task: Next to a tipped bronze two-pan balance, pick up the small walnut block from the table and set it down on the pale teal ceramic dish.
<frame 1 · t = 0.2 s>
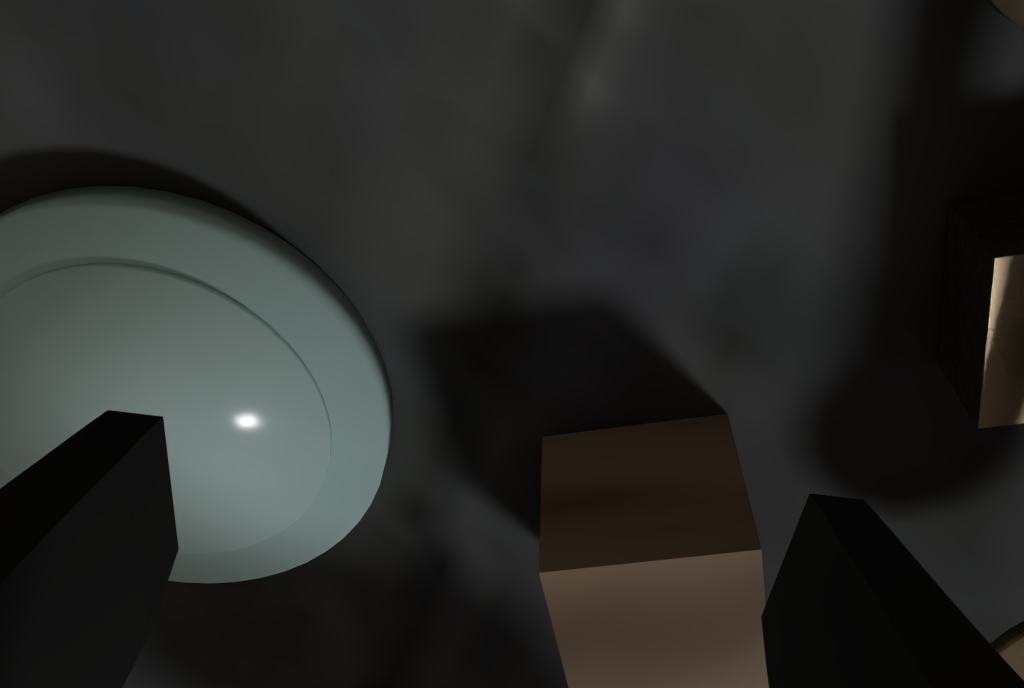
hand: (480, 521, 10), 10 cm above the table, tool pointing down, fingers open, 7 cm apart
dish: (168, 395, 22), on the table
block: (644, 491, 24), on the table
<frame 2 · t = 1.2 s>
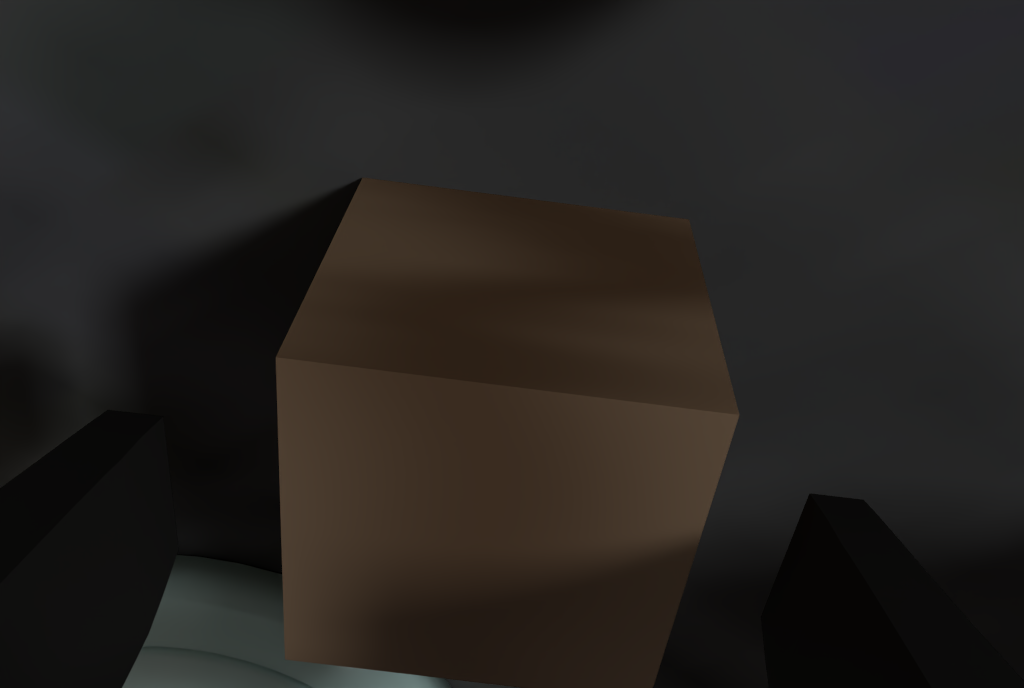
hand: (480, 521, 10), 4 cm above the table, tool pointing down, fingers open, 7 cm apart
block: (508, 333, 14), on the table
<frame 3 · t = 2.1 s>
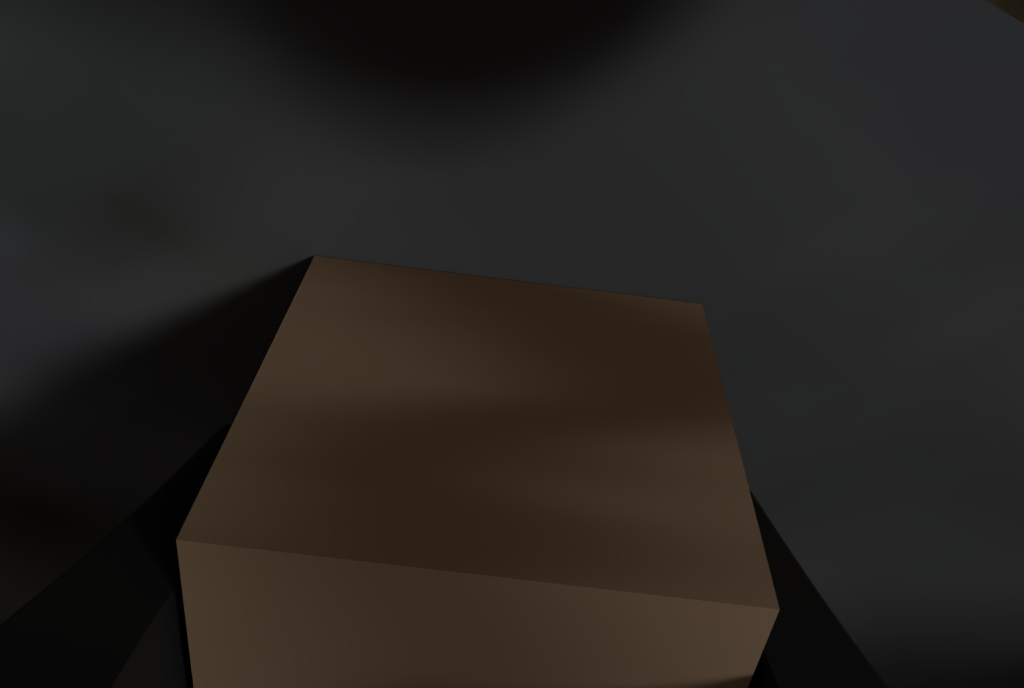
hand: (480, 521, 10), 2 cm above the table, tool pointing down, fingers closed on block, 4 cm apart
block: (489, 431, 12), on the table, touching gripper
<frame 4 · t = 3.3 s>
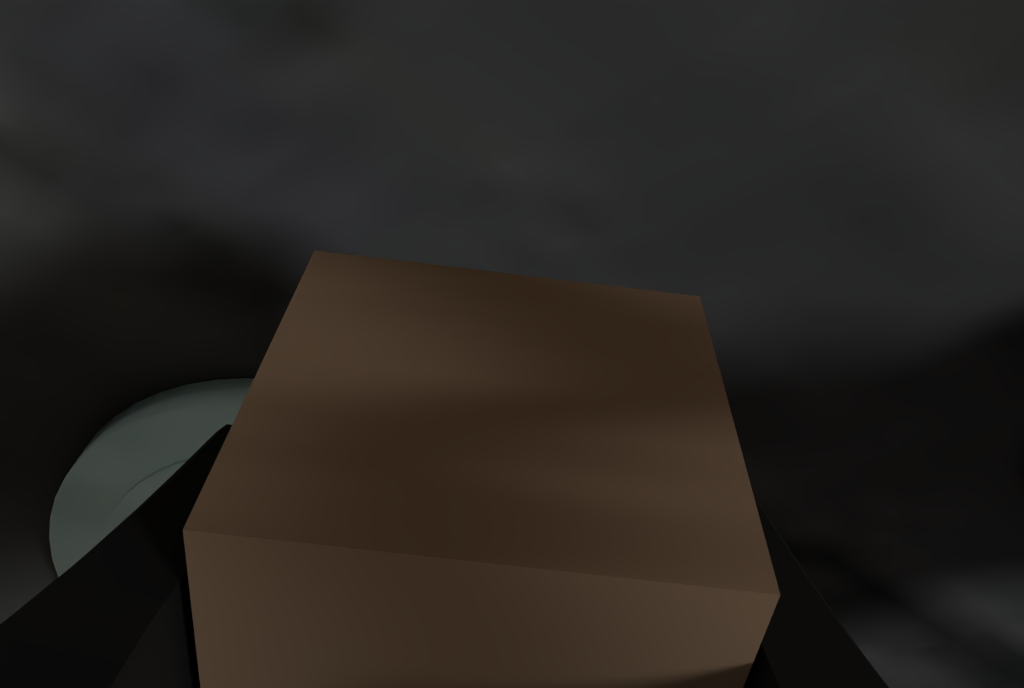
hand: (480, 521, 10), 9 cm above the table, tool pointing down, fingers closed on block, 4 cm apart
dish: (285, 553, 24), on the table
block: (488, 425, 12), point 7 cm above the table, touching gripper
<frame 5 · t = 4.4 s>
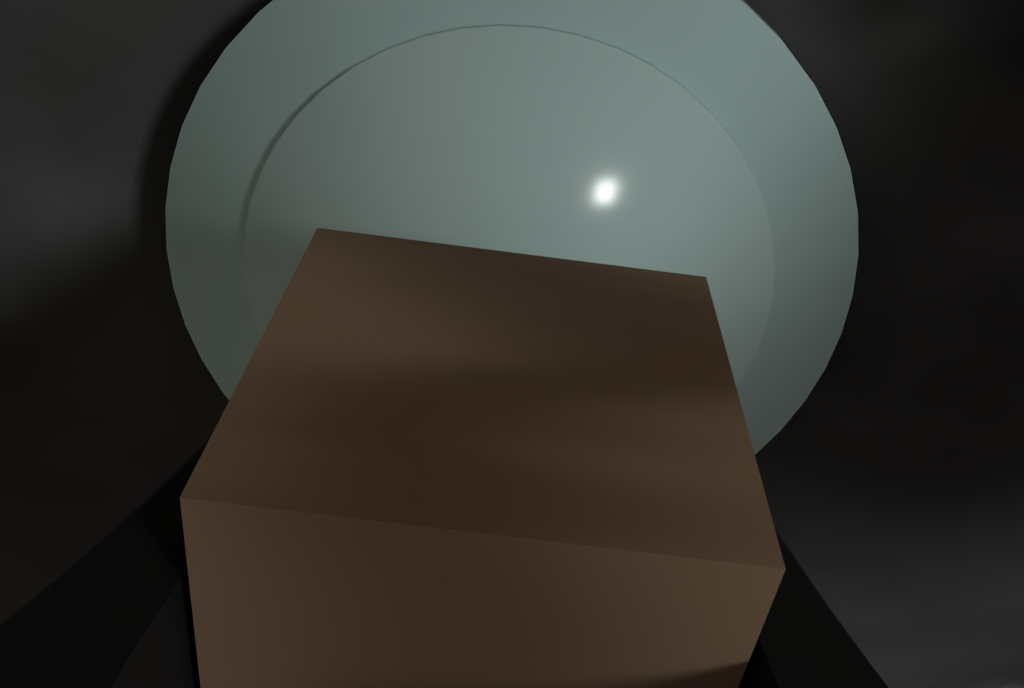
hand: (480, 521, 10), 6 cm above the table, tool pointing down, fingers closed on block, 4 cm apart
dish: (510, 262, 16), on the table
block: (492, 407, 12), point 4 cm above the table, touching gripper
when the fingers open (4 cm above the table, at t = 5.2 s): block drops 1 cm, resting on dish.
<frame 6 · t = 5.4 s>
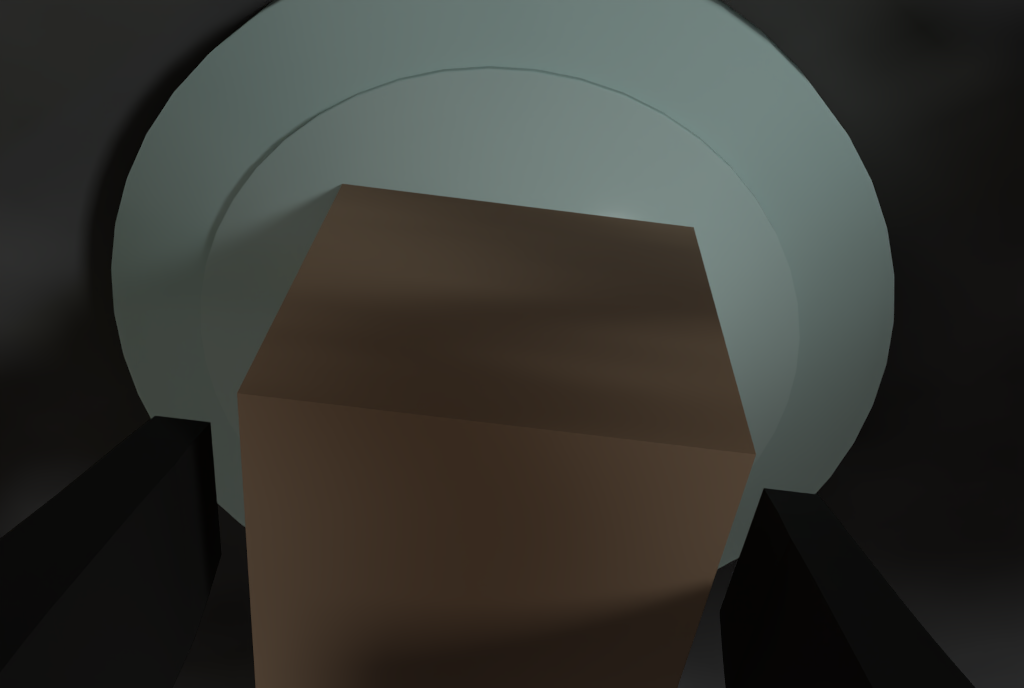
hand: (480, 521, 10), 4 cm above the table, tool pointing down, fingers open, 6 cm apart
dish: (501, 322, 14), on the table
block: (500, 351, 13), point 1 cm above the table, touching dish
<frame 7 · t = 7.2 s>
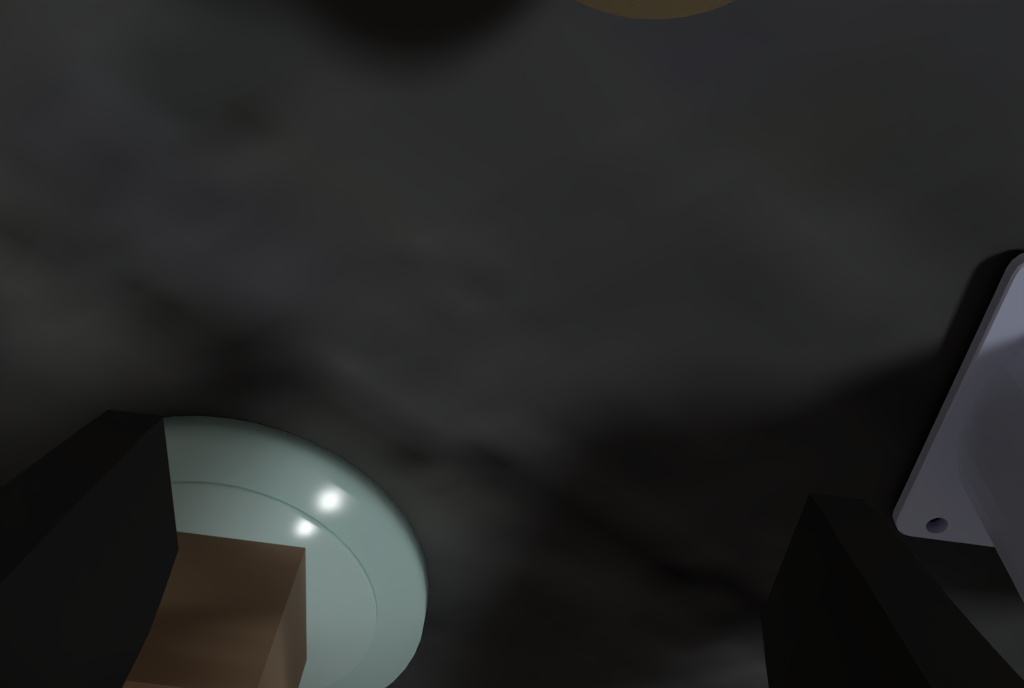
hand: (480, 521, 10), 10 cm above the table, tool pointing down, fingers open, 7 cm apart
dish: (237, 569, 26), on the table
block: (224, 595, 25), point 1 cm above the table, touching dish
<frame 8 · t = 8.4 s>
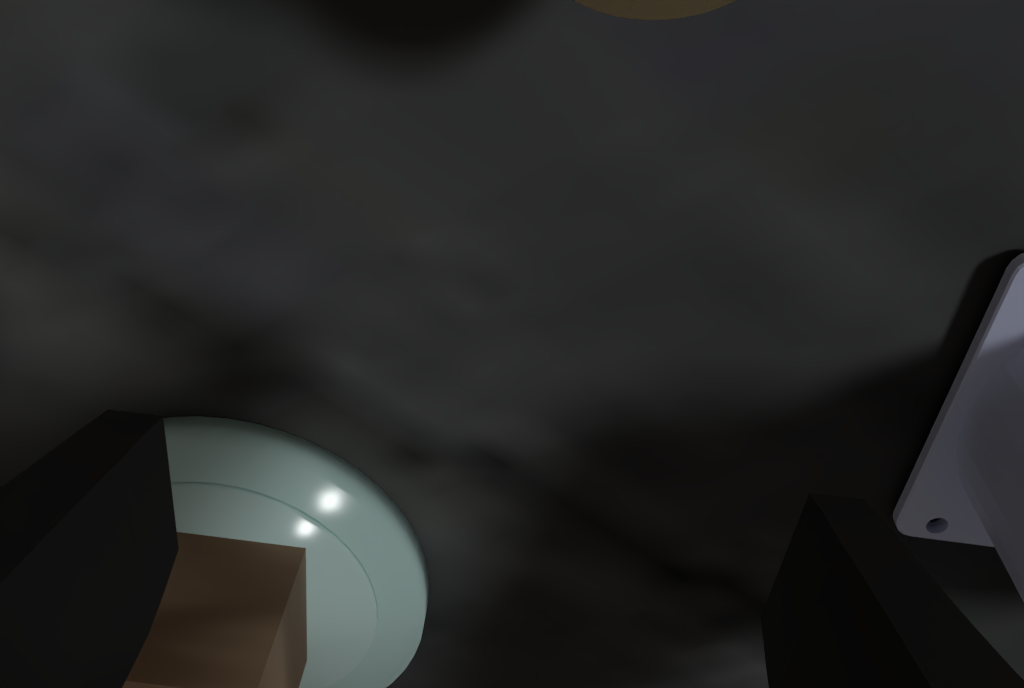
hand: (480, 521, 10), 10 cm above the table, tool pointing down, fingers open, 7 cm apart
dish: (238, 570, 26), on the table
block: (224, 596, 25), point 1 cm above the table, touching dish
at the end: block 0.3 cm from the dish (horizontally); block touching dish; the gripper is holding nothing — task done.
